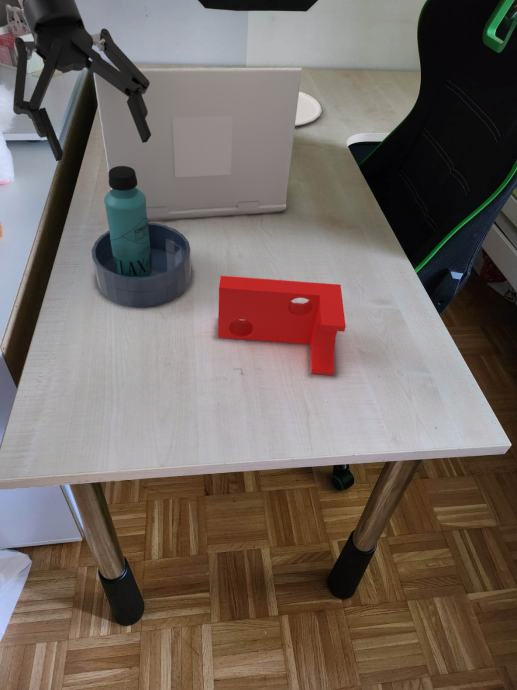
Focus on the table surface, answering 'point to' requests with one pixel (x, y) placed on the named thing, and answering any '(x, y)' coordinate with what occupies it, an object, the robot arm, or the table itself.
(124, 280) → the bowl
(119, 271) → the beverage bottle
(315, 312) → the bracket
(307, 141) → the table surface
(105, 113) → the laptop
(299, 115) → the plate
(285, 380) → the table surface
